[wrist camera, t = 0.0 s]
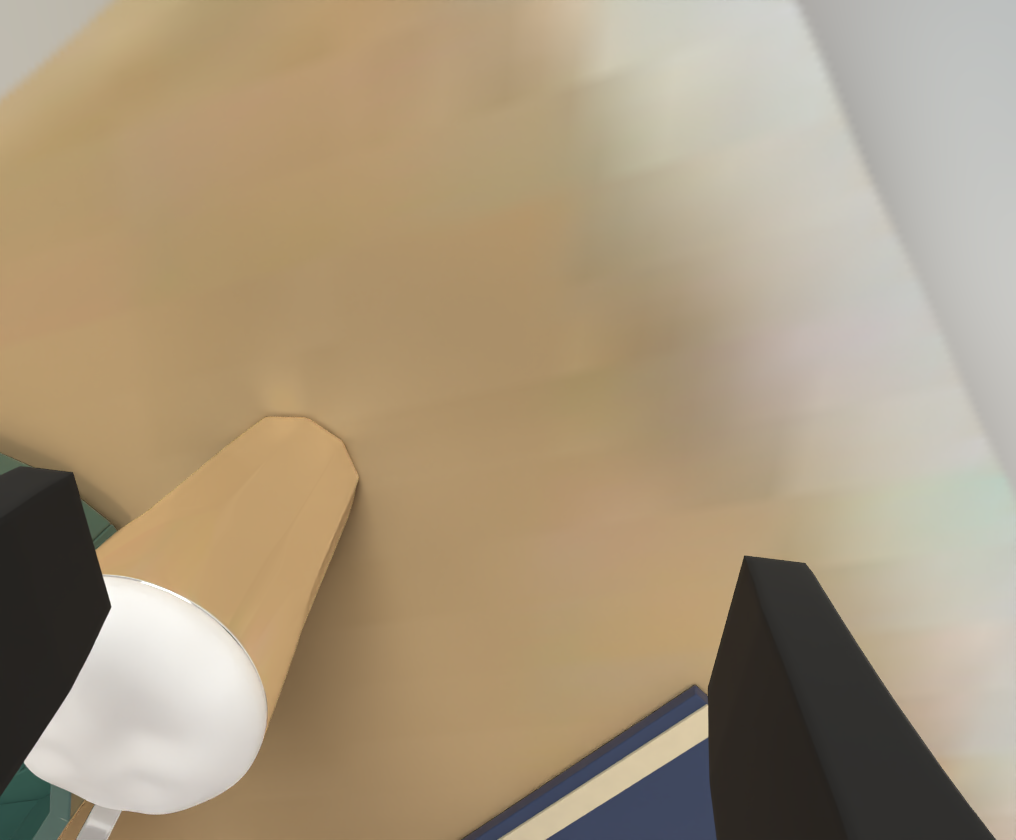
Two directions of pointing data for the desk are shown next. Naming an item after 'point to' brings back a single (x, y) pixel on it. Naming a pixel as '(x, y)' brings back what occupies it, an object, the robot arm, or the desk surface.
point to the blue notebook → (626, 786)
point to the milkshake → (200, 626)
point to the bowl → (27, 799)
